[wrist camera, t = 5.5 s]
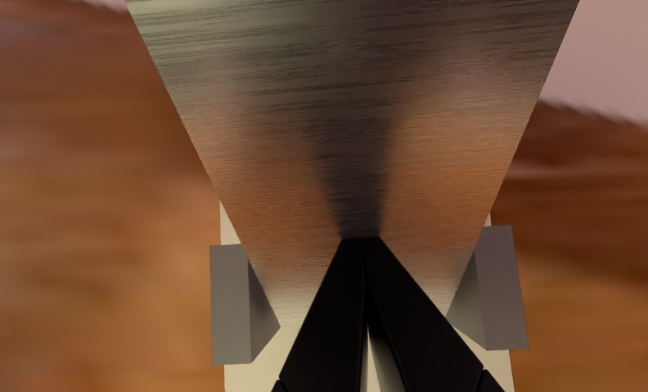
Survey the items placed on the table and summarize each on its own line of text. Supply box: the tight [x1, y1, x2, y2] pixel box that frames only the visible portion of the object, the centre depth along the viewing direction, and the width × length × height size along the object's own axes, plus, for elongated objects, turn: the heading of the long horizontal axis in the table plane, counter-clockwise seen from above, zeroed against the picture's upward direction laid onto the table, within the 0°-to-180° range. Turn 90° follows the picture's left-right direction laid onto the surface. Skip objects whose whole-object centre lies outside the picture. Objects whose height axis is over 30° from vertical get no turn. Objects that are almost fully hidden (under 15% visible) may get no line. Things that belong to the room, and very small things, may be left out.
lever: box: [124, 0, 580, 326], centre depth 7 cm, size 4×5×14 cm
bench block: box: [210, 201, 529, 392], centre depth 12 cm, size 10×10×6 cm
